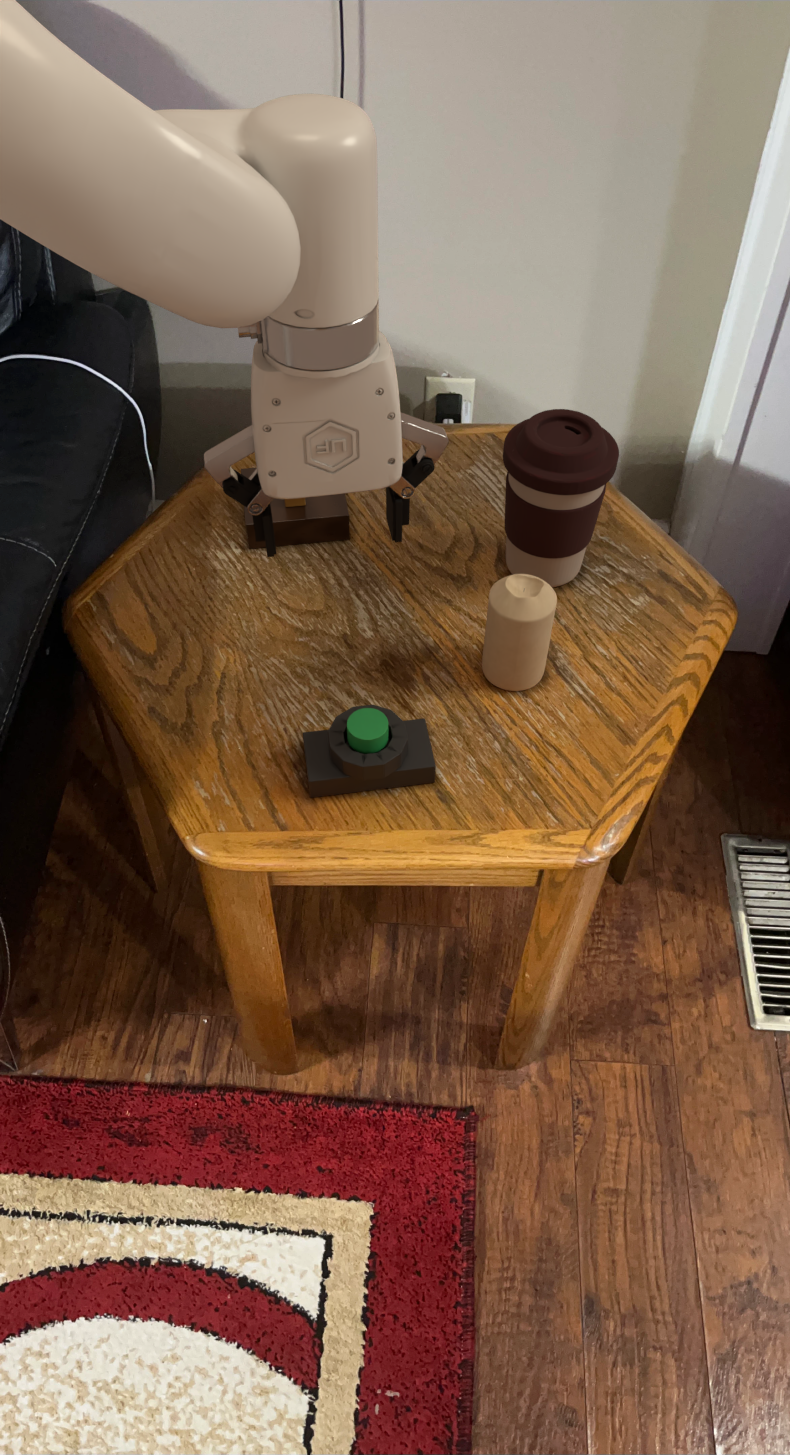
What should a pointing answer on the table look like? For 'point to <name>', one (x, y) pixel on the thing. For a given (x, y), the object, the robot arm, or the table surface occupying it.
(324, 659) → the table surface
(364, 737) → the arm button
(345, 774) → the dark grey button housing
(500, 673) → the candle
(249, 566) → the table surface
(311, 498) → the plate
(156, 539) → the table surface
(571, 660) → the table surface
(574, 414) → the coffee cup
